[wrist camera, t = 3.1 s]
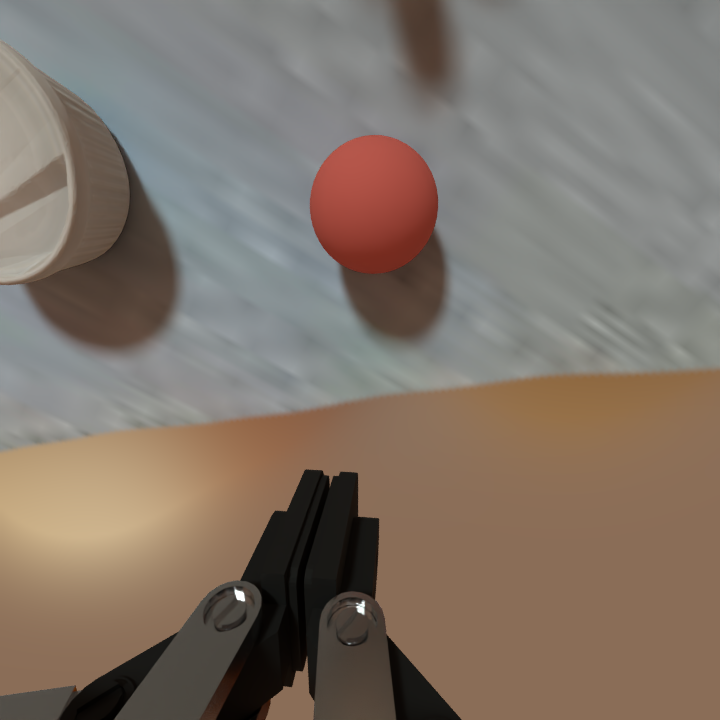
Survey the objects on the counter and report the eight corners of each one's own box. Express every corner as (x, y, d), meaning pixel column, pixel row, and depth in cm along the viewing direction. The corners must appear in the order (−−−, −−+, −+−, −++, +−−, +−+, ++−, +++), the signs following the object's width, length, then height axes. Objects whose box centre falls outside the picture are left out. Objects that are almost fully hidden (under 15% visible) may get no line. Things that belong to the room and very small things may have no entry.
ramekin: (113, 310, 24) (37, 327, 19) (-41, 213, 24) (-162, 204, 18) (179, 145, 21) (107, 113, 16) (1, 26, 20) (-134, -48, 15)
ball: (436, 152, 19) (449, 111, 13) (430, 270, 21) (439, 279, 15) (323, 155, 20) (290, 117, 14) (326, 269, 22) (297, 277, 16)
